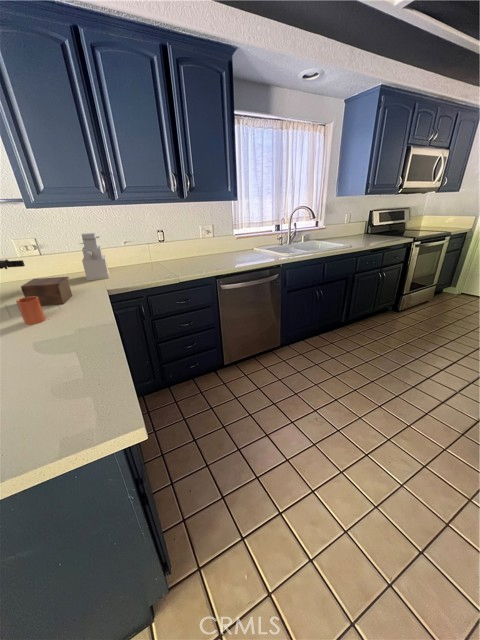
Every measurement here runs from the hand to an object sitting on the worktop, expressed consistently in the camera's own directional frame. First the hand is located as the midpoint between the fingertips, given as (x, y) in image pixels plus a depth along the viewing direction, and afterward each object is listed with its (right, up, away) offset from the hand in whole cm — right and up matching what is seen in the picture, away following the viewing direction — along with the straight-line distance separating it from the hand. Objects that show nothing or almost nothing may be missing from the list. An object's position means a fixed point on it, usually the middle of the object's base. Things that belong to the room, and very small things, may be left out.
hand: (23, 263), depth 127 cm
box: (+7, -17, +10) cm, 21 cm away
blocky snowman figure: (+8, +2, +52) cm, 53 cm away
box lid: (+7, -8, +6) cm, 12 cm away
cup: (+16, -28, -12) cm, 34 cm away
